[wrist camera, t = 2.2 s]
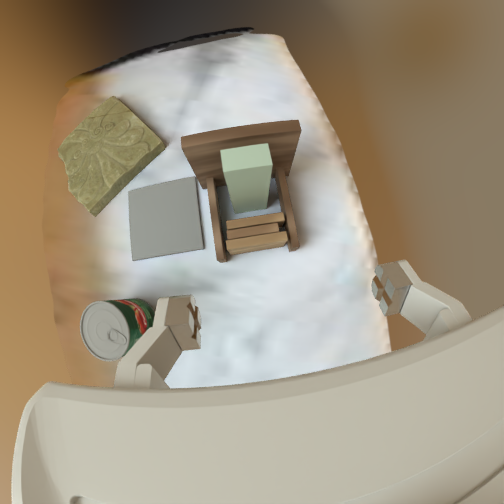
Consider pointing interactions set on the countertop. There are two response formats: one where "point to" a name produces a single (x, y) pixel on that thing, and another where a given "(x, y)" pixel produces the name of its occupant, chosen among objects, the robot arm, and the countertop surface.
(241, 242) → the offcut stack
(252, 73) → the countertop surface
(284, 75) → the countertop surface
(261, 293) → the countertop surface
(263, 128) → the walnut rack
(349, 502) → the robot arm
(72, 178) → the decorative tile
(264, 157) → the pale green block
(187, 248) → the grey mat
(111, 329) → the canned tomato
